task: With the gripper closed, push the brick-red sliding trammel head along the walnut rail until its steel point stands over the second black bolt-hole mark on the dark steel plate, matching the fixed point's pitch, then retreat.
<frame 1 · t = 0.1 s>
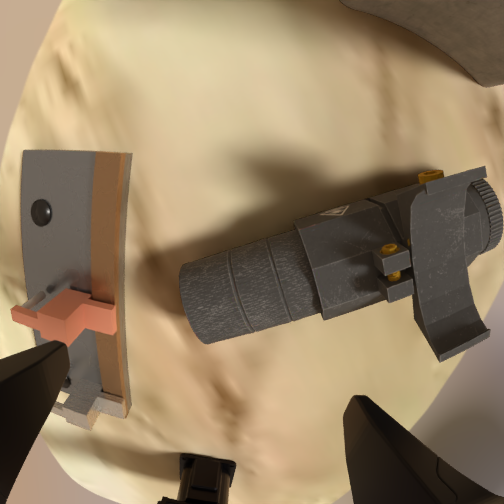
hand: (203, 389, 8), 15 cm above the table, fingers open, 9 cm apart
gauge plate: (74, 292, 24), on the table
laser sight: (347, 240, 22), on the table
hip flask: (425, 28, 17), on the table
trammel head: (64, 314, 20), point 4 cm above the table, slide at 0.0 cm
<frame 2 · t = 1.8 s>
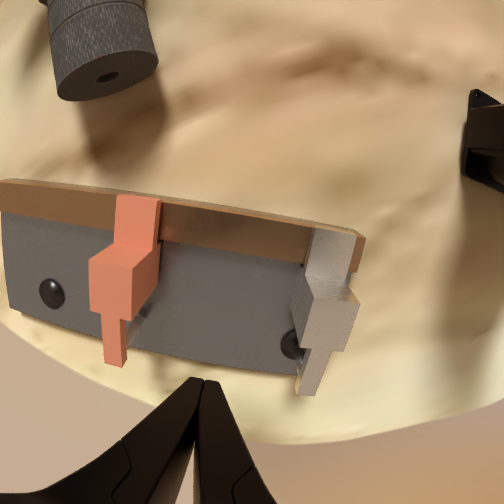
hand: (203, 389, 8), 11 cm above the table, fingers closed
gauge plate: (147, 273, 19), on the table
trammel head: (126, 278, 15), point 4 cm above the table, slide at 0.0 cm
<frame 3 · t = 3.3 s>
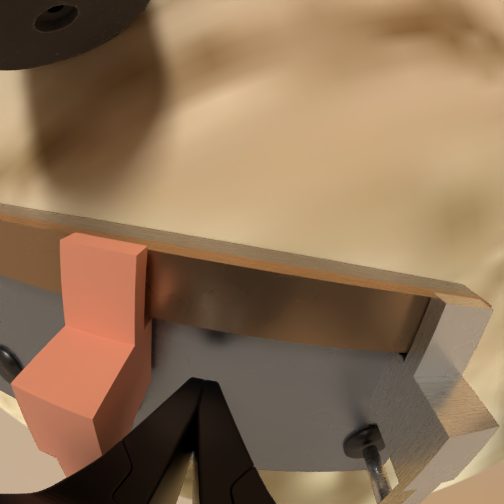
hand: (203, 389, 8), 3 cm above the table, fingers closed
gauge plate: (141, 352, 11), on the table
trammel head: (94, 390, 7), point 4 cm above the table, slide at 0.3 cm, touching gripper
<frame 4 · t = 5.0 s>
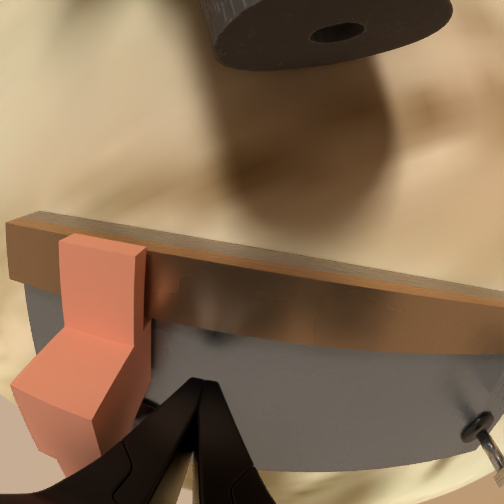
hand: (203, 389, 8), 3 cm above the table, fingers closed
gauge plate: (326, 382, 11), on the table
trammel head: (94, 390, 7), point 4 cm above the table, slide at 7.7 cm, touching gripper
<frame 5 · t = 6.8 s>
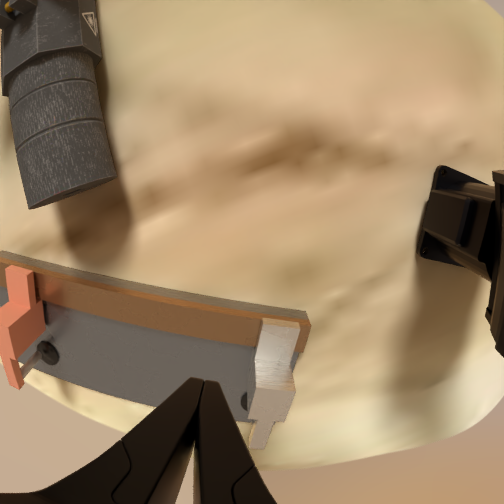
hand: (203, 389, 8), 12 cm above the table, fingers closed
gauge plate: (127, 342, 21), on the table
laser sight: (70, 43, 15), on the table
trammel head: (18, 327, 17), point 4 cm above the table, slide at 7.7 cm
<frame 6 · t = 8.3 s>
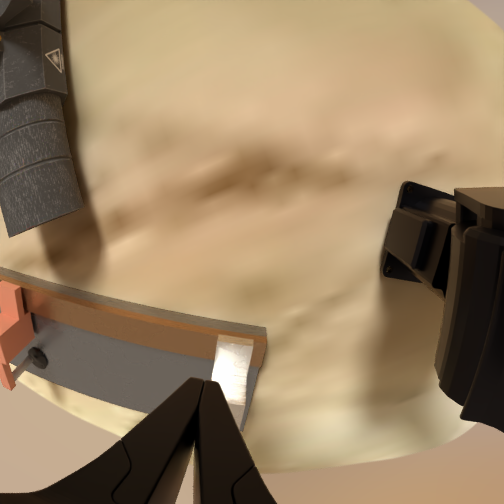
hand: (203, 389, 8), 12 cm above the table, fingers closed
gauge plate: (106, 350, 22), on the table
laser sight: (45, 74, 16), on the table
trammel head: (9, 336, 18), point 4 cm above the table, slide at 7.7 cm
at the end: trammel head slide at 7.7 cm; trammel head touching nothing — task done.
